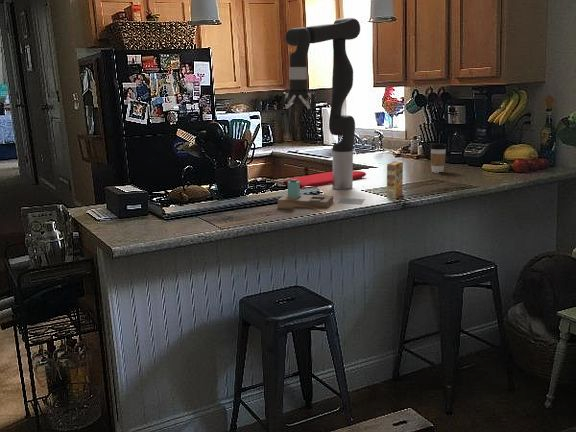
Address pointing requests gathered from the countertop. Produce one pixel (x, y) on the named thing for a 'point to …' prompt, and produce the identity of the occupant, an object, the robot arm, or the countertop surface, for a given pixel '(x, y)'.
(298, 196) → the plug
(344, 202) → the deck
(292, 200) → the socket block
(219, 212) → the countertop surface
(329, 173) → the dish drying mat
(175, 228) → the countertop surface
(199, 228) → the countertop surface
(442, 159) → the coffee cup
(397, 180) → the candy box
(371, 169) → the countertop surface
